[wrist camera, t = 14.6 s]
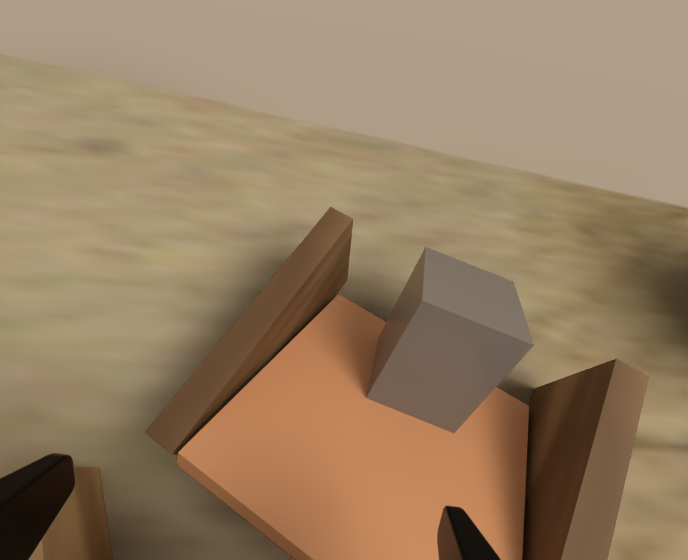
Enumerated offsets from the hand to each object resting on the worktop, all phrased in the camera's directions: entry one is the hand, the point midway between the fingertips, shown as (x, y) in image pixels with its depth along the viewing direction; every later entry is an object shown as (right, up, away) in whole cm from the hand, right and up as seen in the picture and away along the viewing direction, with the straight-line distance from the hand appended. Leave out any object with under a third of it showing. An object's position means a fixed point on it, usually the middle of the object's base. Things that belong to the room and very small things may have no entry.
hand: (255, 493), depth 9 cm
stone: (+6, -1, +12) cm, 14 cm away
